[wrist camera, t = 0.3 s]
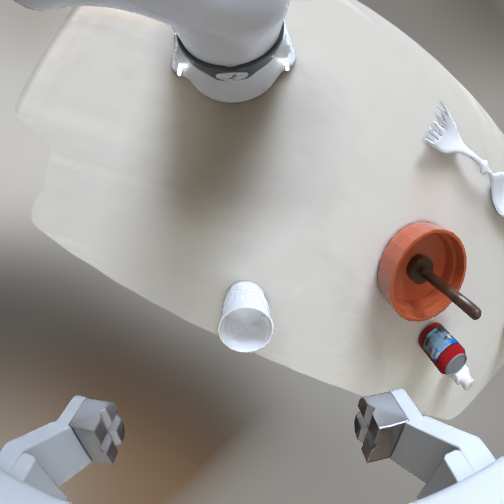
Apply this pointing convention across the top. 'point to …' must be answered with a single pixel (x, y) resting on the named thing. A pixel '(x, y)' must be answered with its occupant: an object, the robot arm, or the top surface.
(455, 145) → the spoon
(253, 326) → the white cup
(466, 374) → the pepper shaker
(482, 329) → the top surface
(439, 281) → the brown rod on stand
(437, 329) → the beverage can
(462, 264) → the bowl
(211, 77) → the robot arm
